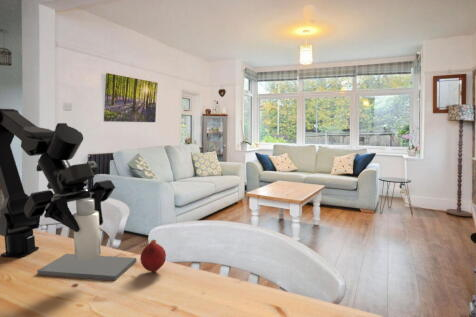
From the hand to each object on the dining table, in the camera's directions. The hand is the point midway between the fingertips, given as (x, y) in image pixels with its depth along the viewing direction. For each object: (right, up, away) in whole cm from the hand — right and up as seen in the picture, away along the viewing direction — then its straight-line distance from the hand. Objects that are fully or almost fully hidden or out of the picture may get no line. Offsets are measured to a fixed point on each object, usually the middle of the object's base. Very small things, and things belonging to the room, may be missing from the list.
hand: (90, 227), depth 70 cm
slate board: (-4, -12, +9) cm, 16 cm away
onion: (+12, -12, +6) cm, 18 cm away
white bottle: (-1, -7, +1) cm, 7 cm away
